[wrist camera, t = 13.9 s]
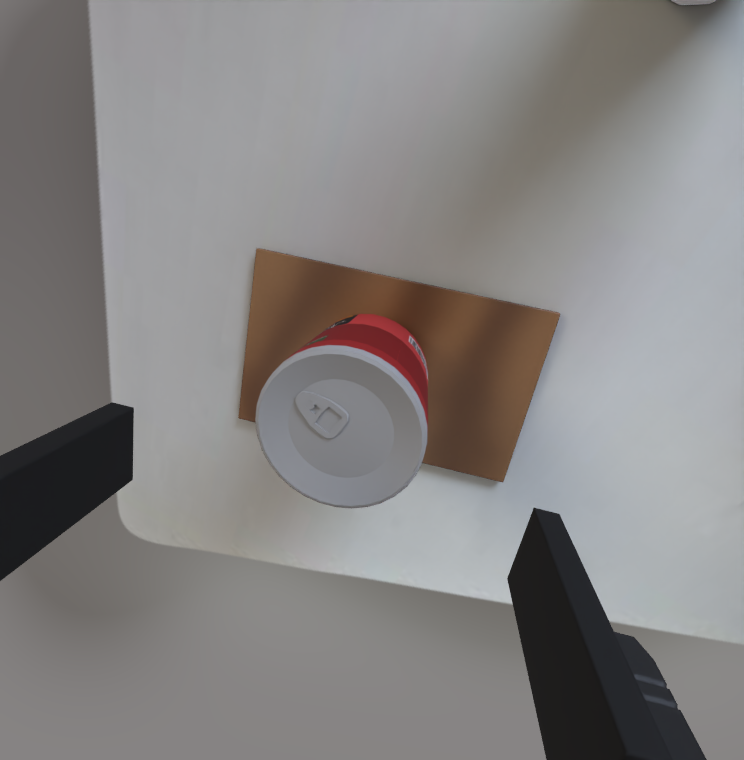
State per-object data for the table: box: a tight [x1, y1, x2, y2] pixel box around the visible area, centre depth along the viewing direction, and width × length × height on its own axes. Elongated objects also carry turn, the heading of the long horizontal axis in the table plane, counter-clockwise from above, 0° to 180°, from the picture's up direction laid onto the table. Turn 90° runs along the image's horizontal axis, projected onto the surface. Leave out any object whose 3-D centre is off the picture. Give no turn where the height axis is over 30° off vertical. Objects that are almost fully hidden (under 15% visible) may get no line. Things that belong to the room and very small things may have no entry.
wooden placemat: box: [238, 249, 560, 482], centre depth 29 cm, size 20×12×1 cm, turn 79°
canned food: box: [255, 314, 428, 508], centre depth 24 cm, size 8×8×11 cm
